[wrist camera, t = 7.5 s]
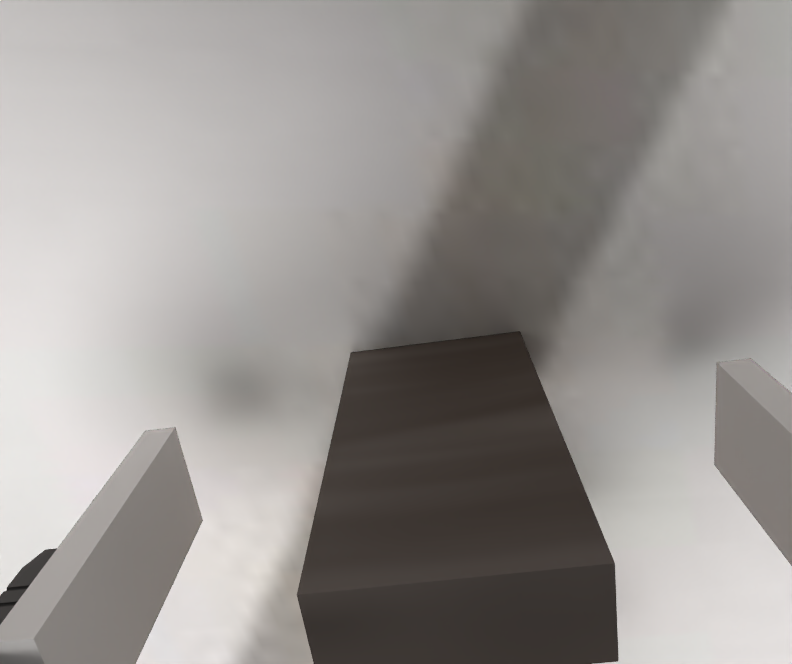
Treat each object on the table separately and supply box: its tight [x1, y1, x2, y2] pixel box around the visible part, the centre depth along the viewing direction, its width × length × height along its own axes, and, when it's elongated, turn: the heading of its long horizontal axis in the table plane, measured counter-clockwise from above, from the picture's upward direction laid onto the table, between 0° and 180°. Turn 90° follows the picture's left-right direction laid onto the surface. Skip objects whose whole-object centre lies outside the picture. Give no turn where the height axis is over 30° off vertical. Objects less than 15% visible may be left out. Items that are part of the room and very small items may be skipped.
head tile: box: [297, 332, 618, 664], centre depth 16 cm, size 2×5×10 cm, turn 98°
